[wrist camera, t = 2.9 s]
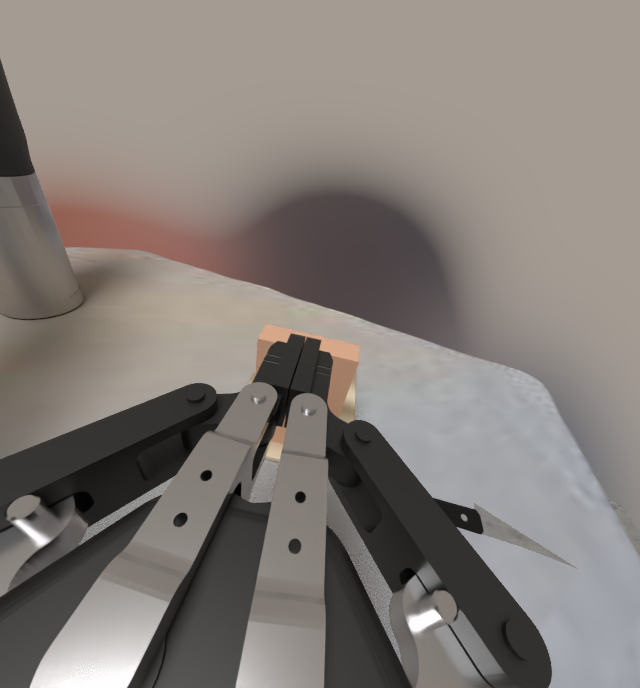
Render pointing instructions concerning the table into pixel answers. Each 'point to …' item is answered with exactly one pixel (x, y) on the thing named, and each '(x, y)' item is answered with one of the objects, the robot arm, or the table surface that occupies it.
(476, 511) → the kitchen knife
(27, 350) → the table surface
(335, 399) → the tile
